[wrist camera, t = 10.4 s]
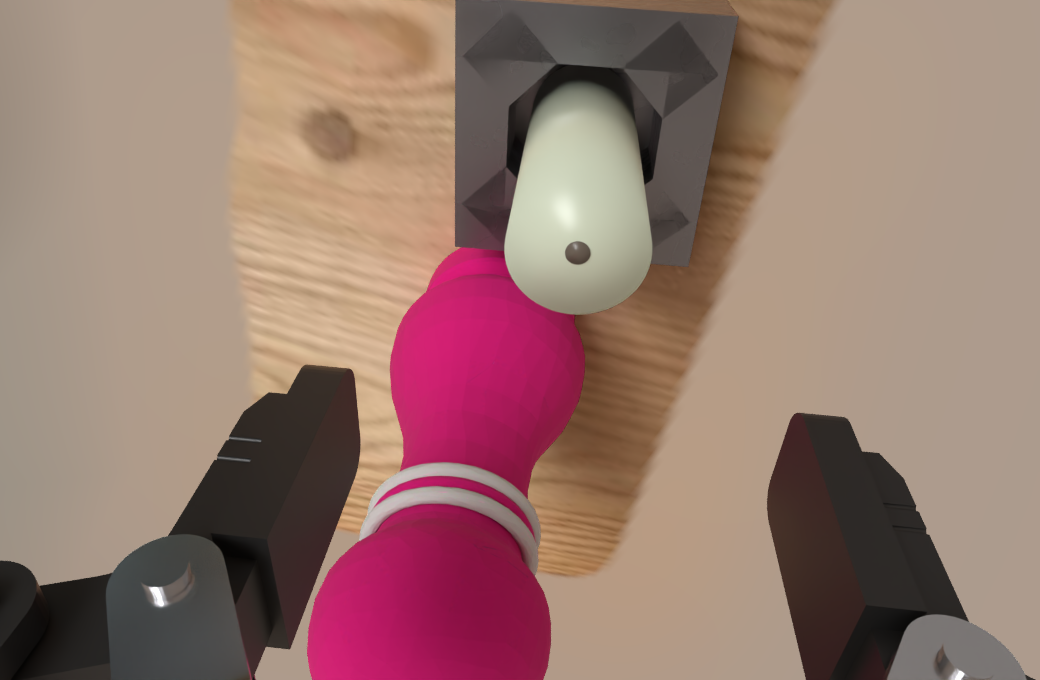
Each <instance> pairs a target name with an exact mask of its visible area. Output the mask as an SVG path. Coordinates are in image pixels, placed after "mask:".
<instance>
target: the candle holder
mask: <svg viewBox="0 0 1040 680" xmlns="http://www.w3.org/2000/svg"><path fill="white" fill-rule="evenodd" d="M737 21H738V15H737V14H736V12H735V11H734V9H733V8H732V6H731V5H730V4H729V2H728V1H727V0H456V30H455V247H465V248H476V249H488V250H499V251H504V245H505V237H506V232H507V228H508V223H509V218H510V213H511V208H512V204H513V199H514V194H515V189H516V184H517V180H518V175H519V170H520V165H521V160H522V156H523V151H524V146H525V141H526V137H527V132H528V127H529V122H530V117H531V113H532V108H533V103H534V100H535V97H536V94H537V92H538V90H539V88H540V87H541V85H542V84H543V83H544V81H545V80H546V79H547V78H548V77H549V76H550V75H551V74H553V73H554V72H555V71H557V70H559V69H561V68H563V67H565V66H568V65H582V66H595V67H605V68H608V69H609V70H611V71H612V72H614V73H615V74H616V75H618V76H619V77H620V78H621V79H622V81H623V82H624V83H625V85H626V86H627V87H628V90H629V92H630V94H631V97H632V100H633V105H634V112H635V119H636V127H637V134H638V142H639V149H640V156H641V164H642V171H643V179H644V186H645V193H646V201H647V208H648V216H649V223H650V231H651V238H652V259H651V263H650V264H659V265H671V266H682V267H688V266H689V261H690V256H691V251H692V246H693V241H694V236H695V231H696V226H697V221H698V216H699V211H700V206H701V201H702V196H703V191H704V186H705V181H706V176H707V171H708V166H709V161H710V156H711V151H712V146H713V141H714V136H715V131H716V126H717V121H718V116H719V111H720V106H721V101H722V96H723V91H724V86H725V81H726V76H727V71H728V66H729V61H730V56H731V51H732V46H733V41H734V36H735V31H736V26H737Z"/></svg>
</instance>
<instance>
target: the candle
mask: <svg viewBox="0 0 1040 680" xmlns="http://www.w3.org/2000/svg"><path fill="white" fill-rule="evenodd" d="M504 254H505V260H506V264H507V268H508V271H509V273H510V275H511V277H512V279H513V280H514V282H515V284H516V285H517V286H518V287H519V289H520V290H521V291H522V292H523V293H524V294H525V295H526V296H527V297H528V298H530V299H531V300H533V301H534V302H536V303H537V304H539V305H541V306H543V307H545V308H547V309H550V310H553V311H556V312H560V313H565V314H577V315H581V314H591V313H597V312H600V311H604V310H607V309H609V308H612V307H614V306H616V305H618V304H619V303H621V302H623V301H624V300H625V299H627V298H628V297H629V296H630V295H632V294H633V293H634V292H635V291H636V290H637V288H638V287H639V286H640V285H641V283H642V282H643V280H644V278H645V277H646V274H647V272H648V270H649V267H650V263H651V259H652V238H651V231H650V223H649V216H648V208H647V201H646V193H645V186H644V179H643V171H642V164H641V156H640V149H639V142H638V134H637V127H636V119H635V112H634V105H633V100H632V97H631V94H630V92H629V90H628V87H627V86H626V85H625V83H624V82H623V81H622V79H621V78H620V77H619V76H618V75H616V74H615V73H614V72H612V71H611V70H609V69H608V68H605V67H595V66H582V65H568V66H565V67H563V68H561V69H559V70H557V71H555V72H554V73H553V74H551V75H550V76H549V77H548V78H547V79H546V80H545V81H544V83H543V84H542V85H541V87H540V88H539V90H538V92H537V94H536V97H535V100H534V103H533V108H532V113H531V117H530V122H529V127H528V132H527V137H526V141H525V146H524V151H523V156H522V160H521V165H520V170H519V175H518V180H517V184H516V189H515V194H514V199H513V204H512V208H511V213H510V218H509V223H508V228H507V232H506V237H505V245H504Z"/></svg>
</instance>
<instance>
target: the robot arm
mask: <svg viewBox="0 0 1040 680" xmlns="http://www.w3.org/2000/svg"><path fill="white" fill-rule="evenodd" d="M217 456H218V457H217V460H214V462H213V463H212V465H211V466H210V468H209V470H208V471H207V473H206V475H205V477H204V478H203V480H202V481H201V483H200V485H199V486H198V488H197V489H196V491H195V493H194V495H193V496H192V498H191V500H190V501H189V503H188V505H187V506H186V508H185V509H184V511H183V513H182V514H181V516H180V517H179V519H178V521H177V522H176V524H175V526H174V527H173V529H172V531H171V532H170V534H169V535H168V536H166V537H162V538H159V539H156V540H153V541H151V542H149V543H147V544H144V545H142V546H141V547H139V548H138V549H136V550H134V551H133V552H132V553H130V554H129V555H128V556H127V557H125V558H124V560H123V561H121V562H120V564H119V565H118V566H117V567H116V569H115V570H114V571H113V573H110V574H106V575H102V576H97V577H91V578H85V579H79V580H72V581H67V582H60V583H54V584H49V585H42V586H39V585H38V583H37V580H36V579H35V577H34V575H33V574H32V572H31V571H30V570H29V569H28V568H26V567H25V566H23V565H21V564H19V563H15V562H11V561H0V680H256V679H255V675H254V674H255V671H256V669H257V667H258V664H259V662H260V660H261V657H262V655H263V652H264V650H265V647H274V648H282V649H290V648H291V645H292V642H293V640H294V637H295V634H296V632H297V629H298V626H299V624H300V621H301V619H302V616H303V613H304V611H305V608H306V605H307V603H308V600H309V598H310V595H311V592H312V590H313V587H314V584H315V582H316V579H317V576H318V574H319V571H320V568H321V566H322V563H323V560H324V558H325V555H326V553H327V550H328V547H329V545H330V542H331V539H332V537H333V534H334V531H335V529H336V526H337V524H338V521H339V518H340V516H341V513H342V510H343V508H344V505H345V502H346V500H347V497H348V494H349V492H350V489H351V486H352V484H353V481H354V479H355V476H356V472H357V468H358V463H359V456H360V430H359V420H358V409H357V398H356V388H355V378H354V374H353V371H352V370H351V369H347V368H337V367H326V366H316V365H304V366H303V367H302V368H301V370H300V371H299V373H298V375H297V377H296V379H295V380H294V382H293V384H292V386H291V388H290V390H289V391H288V393H287V394H280V393H270V392H269V393H267V394H266V395H265V396H264V397H262V398H261V399H260V400H258V401H257V402H256V403H255V404H253V405H252V406H251V407H249V408H248V409H247V410H245V411H244V412H243V414H242V415H241V417H240V419H239V421H238V422H237V424H236V425H235V427H234V429H233V430H232V432H231V434H230V436H229V440H227V441H226V442H225V443H224V445H223V447H222V448H221V450H220V452H219V453H218V455H217ZM767 511H768V520H769V525H770V528H771V533H772V537H773V542H774V546H775V550H776V554H777V558H778V563H779V567H780V571H781V575H782V579H783V584H784V588H785V592H786V596H787V601H788V605H789V609H790V614H791V618H792V622H793V626H794V631H795V635H796V639H797V643H798V648H799V652H800V656H801V660H802V664H803V669H804V673H805V677H806V680H1035V679H1033V678H1030V677H1028V676H1027V675H1025V674H1024V671H1023V670H1022V668H1021V666H1020V664H1019V663H1018V661H1017V660H1016V659H1015V657H1014V656H1013V654H1012V653H1011V652H1010V651H1009V650H1008V649H1007V648H1006V647H1005V646H1004V645H1003V644H1002V643H1001V642H1000V641H998V640H997V639H996V638H995V637H994V636H992V635H991V634H989V633H988V632H986V631H985V630H983V629H981V628H980V627H978V626H976V625H974V624H972V623H970V622H969V621H968V619H967V617H966V614H965V612H964V610H963V608H962V606H961V603H960V601H959V599H958V597H957V595H956V592H955V590H954V588H953V586H952V584H951V581H950V580H949V577H948V575H947V573H946V571H945V568H944V566H943V564H942V562H941V559H940V558H939V555H938V553H937V551H936V549H935V546H934V544H933V542H932V540H931V538H930V535H927V534H926V527H925V525H924V522H923V520H922V518H921V516H920V513H919V512H918V511H916V505H915V503H914V500H913V498H912V496H911V494H910V492H909V489H908V487H907V485H906V483H905V481H904V479H903V477H902V476H901V475H900V474H899V473H898V472H896V470H895V469H894V468H893V467H892V466H891V465H890V464H889V463H888V462H887V461H886V460H885V459H884V458H883V457H882V456H881V455H880V454H879V453H872V452H862V451H861V448H860V446H859V443H858V441H857V438H856V436H855V434H854V431H853V429H852V426H851V424H850V422H849V421H848V419H846V418H844V417H836V416H826V415H815V414H804V413H796V414H794V415H793V417H792V418H791V420H790V423H789V426H788V429H787V432H786V435H785V438H784V441H783V444H782V447H781V450H780V453H779V456H778V459H777V462H776V465H775V468H774V471H773V474H772V477H771V480H770V484H769V489H768V498H767Z"/></svg>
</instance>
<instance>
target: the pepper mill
mask: <svg viewBox="0 0 1040 680" xmlns="http://www.w3.org/2000/svg"><path fill="white" fill-rule="evenodd" d="M574 321H575V314H565V313H560V312H556V311H553V310H550V309H547V308H545V307H543V306H541V305H539V304H537V303H536V302H534V301H533V300H531V299H530V298H528V297H527V296H526V295H525V294H524V293H523V292H522V291H521V290H520V289H519V287H518V286H517V285H516V284H515V282H514V280H513V279H512V277H511V275H510V273H509V271H508V268H507V264H506V260H505V254H504V251H499V250H488V249H476V248H465V247H462V248H460V249H458V250H456V251H455V252H453V253H452V254H450V255H449V256H448V257H447V258H445V259H444V261H443V262H442V263H441V264H440V265H439V266H438V268H437V269H436V271H435V273H434V274H433V276H432V278H431V280H430V283H429V286H428V288H427V291H426V293H424V294H423V295H422V296H421V297H420V298H419V299H418V300H417V301H416V302H415V303H414V304H413V305H412V306H411V307H410V309H409V310H408V311H407V313H406V314H405V316H404V317H403V319H402V321H401V323H400V325H399V327H398V330H397V334H396V338H395V342H394V346H393V350H392V354H391V362H390V378H391V391H392V399H393V403H394V406H395V410H396V413H397V417H398V420H399V424H400V428H401V431H402V435H403V452H404V456H403V460H402V465H401V469H400V472H398V473H396V474H395V475H393V476H391V477H390V478H388V479H387V480H386V481H385V482H384V483H383V484H382V485H380V486H379V488H378V489H377V491H376V492H375V493H374V495H373V497H372V499H371V501H370V504H369V508H368V515H367V517H366V518H365V520H364V522H363V524H362V527H361V531H360V537H359V542H357V543H356V544H355V545H354V546H353V547H351V548H350V549H349V550H348V551H347V552H346V553H345V554H344V555H343V556H341V557H340V558H339V559H338V561H337V562H336V563H335V564H334V565H333V567H332V568H331V569H330V570H329V572H328V574H327V576H326V578H325V580H324V582H323V584H322V586H321V588H320V590H319V592H318V594H317V596H316V598H315V602H314V606H313V611H312V615H311V620H310V624H309V631H308V647H307V656H308V662H309V668H310V673H311V677H312V680H543V679H544V676H545V673H546V670H547V667H548V661H549V654H550V646H551V622H550V615H549V607H548V604H547V601H546V598H545V594H544V592H543V590H542V588H541V587H540V585H539V583H538V582H537V579H536V578H535V574H536V572H537V567H538V547H539V544H540V537H541V532H540V523H539V519H538V517H537V514H536V512H535V509H534V508H533V506H532V505H531V503H530V502H529V500H528V487H529V482H530V477H531V472H532V469H533V467H534V465H535V463H536V461H537V460H538V459H539V457H540V456H541V455H542V454H543V453H544V452H545V451H546V450H547V449H548V448H549V446H550V445H551V444H552V443H553V442H554V441H555V440H556V439H557V438H558V436H559V435H560V434H561V433H562V432H563V430H564V428H565V426H566V425H567V423H568V421H569V419H570V418H571V416H572V414H573V412H574V410H575V408H576V406H577V404H578V402H579V398H580V394H581V390H582V384H583V379H584V373H585V354H584V349H583V345H582V341H581V338H580V334H579V332H578V330H577V328H576V327H575V325H574Z"/></svg>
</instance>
